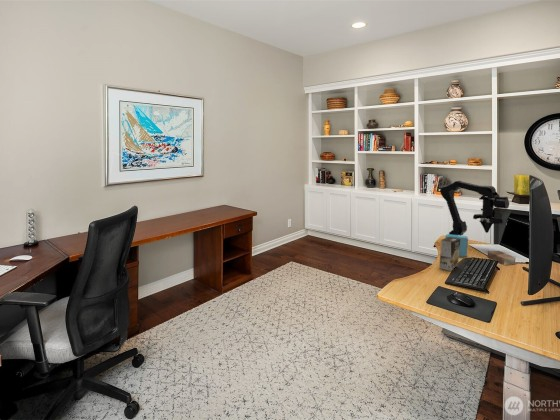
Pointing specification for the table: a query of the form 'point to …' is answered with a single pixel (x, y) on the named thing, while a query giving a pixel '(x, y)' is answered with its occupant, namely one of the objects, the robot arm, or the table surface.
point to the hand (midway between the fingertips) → (486, 232)
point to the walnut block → (501, 257)
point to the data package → (461, 244)
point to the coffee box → (449, 253)
